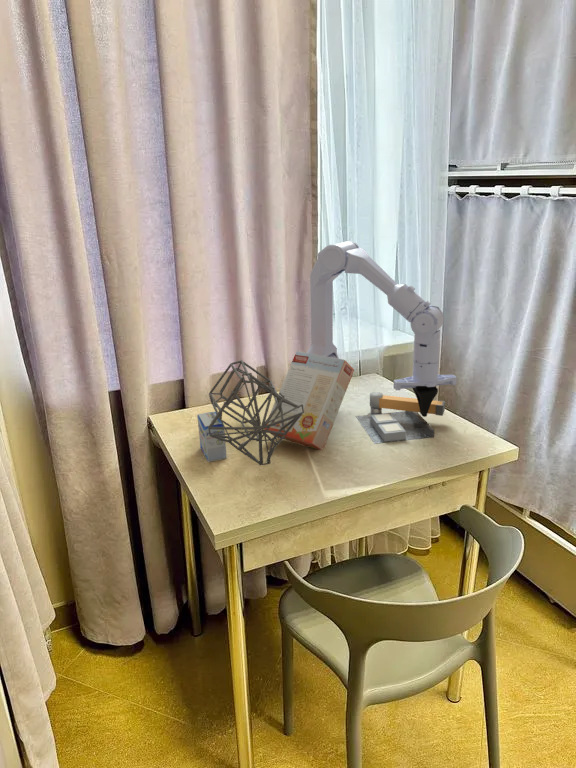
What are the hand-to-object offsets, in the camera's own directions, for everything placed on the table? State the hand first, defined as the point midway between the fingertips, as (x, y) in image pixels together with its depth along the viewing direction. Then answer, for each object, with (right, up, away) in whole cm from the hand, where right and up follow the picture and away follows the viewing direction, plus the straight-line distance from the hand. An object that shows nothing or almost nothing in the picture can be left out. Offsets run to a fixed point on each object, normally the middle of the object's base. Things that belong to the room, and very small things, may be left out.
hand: (423, 415), depth 130 cm
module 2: (-8, -5, -3) cm, 10 cm away
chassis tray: (-7, -4, +2) cm, 8 cm away
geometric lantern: (-45, +7, +11) cm, 47 cm away
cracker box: (-31, -6, -5) cm, 32 cm away
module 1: (-9, -3, +3) cm, 10 cm away
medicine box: (-49, -9, -5) cm, 50 cm away
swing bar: (-3, +1, +4) cm, 6 cm away
